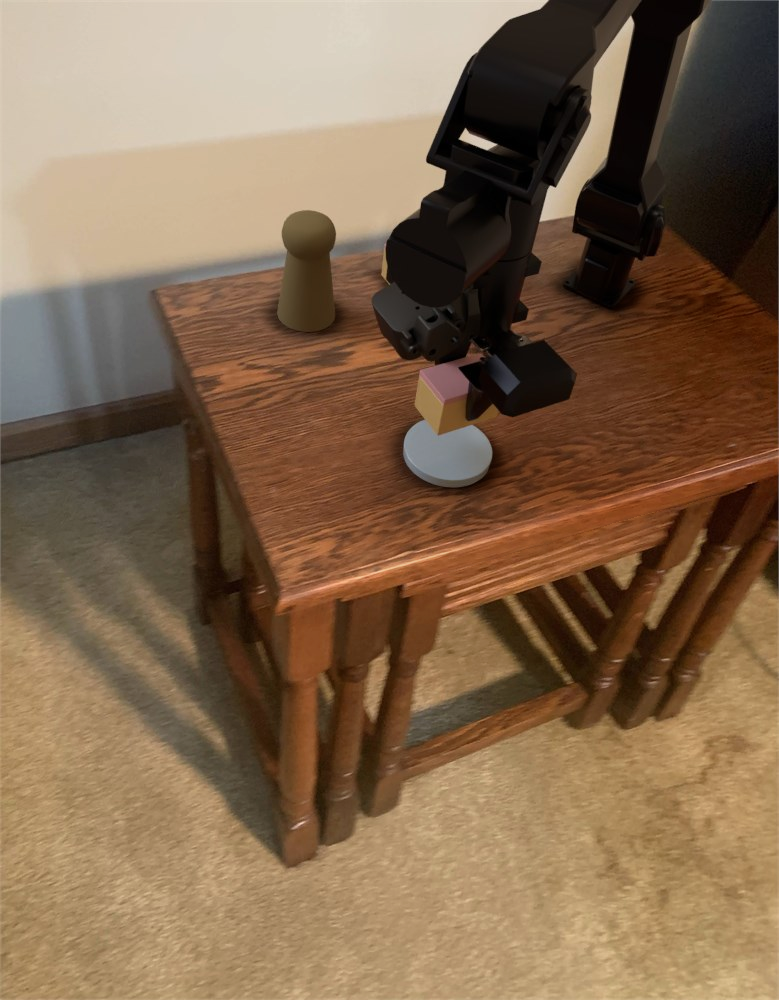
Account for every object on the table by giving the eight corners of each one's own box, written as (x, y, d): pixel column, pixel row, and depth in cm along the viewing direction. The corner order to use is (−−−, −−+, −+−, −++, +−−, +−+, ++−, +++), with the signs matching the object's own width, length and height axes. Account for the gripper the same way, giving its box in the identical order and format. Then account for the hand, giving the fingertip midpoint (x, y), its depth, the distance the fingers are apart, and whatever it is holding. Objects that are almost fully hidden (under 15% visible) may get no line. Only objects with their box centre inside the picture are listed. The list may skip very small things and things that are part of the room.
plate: (434, 412, 79) (435, 404, 79) (506, 452, 77) (508, 444, 76) (385, 458, 75) (386, 450, 74) (460, 502, 72) (462, 494, 71)
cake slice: (413, 405, 72) (419, 369, 69) (472, 388, 74) (480, 352, 71) (437, 436, 70) (444, 400, 67) (497, 417, 72) (506, 381, 69)
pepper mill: (269, 301, 88) (268, 205, 80) (323, 293, 90) (328, 198, 82) (288, 336, 85) (289, 239, 76) (343, 326, 87) (350, 230, 78)
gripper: (333, 192, 61) (324, 359, 73) (466, 342, 51) (431, 508, 63) (461, 169, 66) (433, 330, 77) (608, 304, 55) (550, 466, 67)
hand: (458, 402), depth 71 cm, fingers closed on cake slice, 4 cm apart
